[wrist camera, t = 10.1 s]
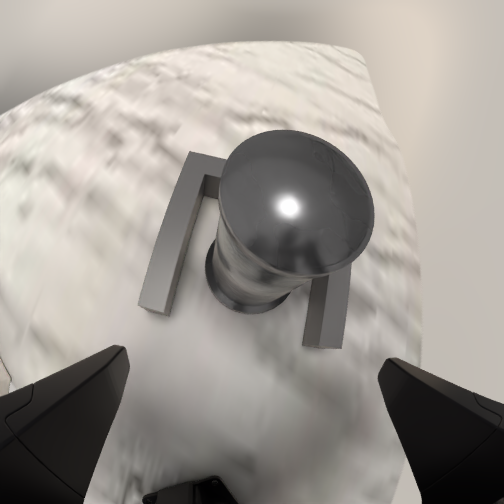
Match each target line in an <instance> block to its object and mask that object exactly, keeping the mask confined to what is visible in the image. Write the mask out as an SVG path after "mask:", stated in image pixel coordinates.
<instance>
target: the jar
mask: <svg viewBox="0 0 504 504" xmlns="http://www.w3.org/2000/svg"><path fill="white" fill-rule="evenodd" d="M10 381H11V378H10V376H9V374H8V373H7V371H6V369H5V367H4V365H3V363H2V361H1V359H0V396H3V395H6V394H8V393H9V386H10Z"/></svg>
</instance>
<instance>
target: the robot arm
mask: <svg viewBox="0 0 504 504" xmlns="http://www.w3.org/2000/svg"><path fill="white" fill-rule="evenodd" d="M129 369H130V364H129V359H128V355H127V351H126V348H125V347H124V346H119V345H113V346H110V347H108V348H106V349H104V350H102V351H100V352H98V353H96V354H94V355H92V356H90V357H88V358H86V359H84V360H82V361H79V362H77V363H75V364H73V365H71V366H69V367H67V368H65V369H63V370H61V371H58V372H56V373H54V374H52V375H50V376H48V377H46V378H43V379H41V380H39V381H37V382H35V383H34V384H33V383H32V384H30V385H27V386H25V387H23V388H21V389H18V390H16V391H13V392H11V393H8V394H6V395H3V396H0V504H83V502H84V498H85V496H86V493H87V490H88V487H89V484H90V481H91V478H92V475H93V472H94V470H95V467H96V464H97V461H98V459H99V456H100V453H101V451H102V448H103V445H104V443H105V440H106V438H107V435H108V433H109V430H110V428H111V425H112V423H113V420H114V418H115V415H116V413H117V410H118V408H119V405H120V402H121V399H122V395H123V392H124V388H125V384H126V381H127V377H128V374H129ZM378 382H379V385H380V389H381V392H382V395H383V398H384V402H385V405H386V408H387V411H388V413H389V416H390V418H391V420H392V423H393V425H394V427H395V430H396V432H397V434H398V437H399V439H400V442H401V444H402V447H403V449H404V452H405V454H406V457H407V459H408V461H409V464H410V467H411V469H412V472H413V475H414V477H415V480H416V483H417V486H418V488H419V491H420V494H421V498H422V504H504V404H502V403H500V402H496V401H494V400H491V399H489V398H486V397H484V396H481V395H479V394H477V393H474V392H473V393H472V392H471V391H469V390H467V389H464V388H462V387H460V386H457V385H455V384H453V383H451V382H448V381H446V380H444V379H442V378H439V377H437V376H435V375H433V374H431V373H429V372H426V371H424V370H422V369H420V368H418V367H416V366H413V365H411V364H409V363H407V362H405V361H403V360H401V359H399V358H388V359H386V360H385V362H384V364H383V366H382V368H381V370H380V372H379V374H378ZM212 481H218V483H212ZM147 500H150V501H152V502H148V501H147ZM142 502H143V504H240V503H239V502H238V501H237V500H236V498H235V497H234V496H233V494H232V493H231V492H230V490H229V489H228V487H227V486H226V485H225V483H224V482H223V481H222V479H221V478H220V477H218V476H211V477H208V478H205V479H202V480H199V481H196V482H193V483H191V482H187V483H183V484H180V485H176V486H173V487H169V488H166V489H162V490H159V492H157V493H153V494H149V495H145V496H144V497H143V499H142Z"/></svg>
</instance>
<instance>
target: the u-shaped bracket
mask: <svg viewBox="0 0 504 504" xmlns="http://www.w3.org/2000/svg"><path fill="white" fill-rule="evenodd" d="M226 161H227V160H226V159H222V158H218V157H213V156H209V155H205V154H200V153H195V152H191V151H189V153H188V156H187V158H186V161H185V163H184V166H183V168H182V171H181V173H180V176H179V178H178V181H177V184H176V186H175V189H174V191H173V194H172V197H171V200H170V202H169V205H168V208H167V211H166V213H165V216H164V219H163V222H162V225H161V228H160V231H159V234H158V237H157V240H156V243H155V246H154V250H153V253H152V256H151V259H150V263H149V266H148V269H147V273H146V276H145V280H144V283H143V287H142V290H141V294H140V298H139V302H138V306H140V307H142V308H144V309H145V310H147V311H151V312H154V313H158V314H161V315H165V316H170V312H171V308H172V304H173V300H174V296H175V292H176V288H177V284H178V280H179V277H180V273H181V269H182V265H183V262H184V258H185V255H186V251H187V248H188V244H189V241H190V237H191V234H192V231H193V227H194V224H195V221H196V217H197V214H198V211H199V208H200V204H201V201H202V198H203V195H205V196H209V197H213V198H217V199H218V197H219V186H220V180H221V175H222V171H223V168H224V165H225V163H226ZM351 265H352V262H351V263H350V264H348V265H347V266H345V267H343V268H342V269H340V270H338V271H336V272H334V273H332V274H329V275H327V276H323V277H319V278H313V280H312V287H311V294H310V300H309V307H308V313H307V319H306V325H305V331H304V337H303V343H302V345H304V346H310V347H317V348H329V349H341V348H342V342H343V335H344V328H345V321H346V313H347V305H348V296H349V287H350V276H351Z"/></svg>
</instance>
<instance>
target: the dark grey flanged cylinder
mask: <svg viewBox="0 0 504 504" xmlns="http://www.w3.org/2000/svg"><path fill="white" fill-rule="evenodd" d="M218 199H219V209H220V218H219V224H218V229H217V235H216V239H215V240H214V242H213V243H212V244H211V246H210V248H209V250H208V253H207V257H206V263H205V274H206V279H207V283H208V285H209V288H210V290H211V291H212V293H213V294H214V296H215V297H216V298H217V299H218V300H219V301H220V302H221V303H222V304H223V305H225V306H226V307H228V308H229V309H231V310H234V311H236V312H239V313H244V314H258V313H263V312H266V311H268V310H271V309H273V308H275V307H276V306H278V305H279V304H281V303H282V302H283V301H284V300H285V299H286V298H287V296H288V295H289V294H290V292H291V291H292V290H294V289H295V288H297V287H299V286H301V285H303V284H304V283H306V282H308V281H310V280H311V279H313V278H319V277H323V276H327V275H329V274H332V273H334V272H336V271H338V270H340V269H342V268H343V267H345V266H347V265H348V264H350V263H351V262H353V261H354V260H355V259H356V258H357V257H358V256H359V255H360V254H361V253H362V252H363V250H364V249H365V247H366V246H367V244H368V242H369V240H370V237H371V235H372V231H373V227H374V205H373V199H372V196H371V193H370V190H369V187H368V185H367V183H366V181H365V179H364V177H363V175H362V174H361V172H360V171H359V170H358V168H357V167H356V166H355V164H354V163H353V162H352V161H351V160H350V159H349V158H348V157H347V156H346V155H345V154H344V153H343V152H341V151H340V150H339V149H338V148H336V147H335V146H333V145H332V144H330V143H329V142H327V141H325V140H323V139H321V138H319V137H316V136H314V135H311V134H308V133H304V132H299V131H294V130H273V131H267V132H263V133H260V134H257V135H255V136H252V137H250V138H249V139H247V140H245V141H244V142H242V143H241V144H240V145H239V146H238V147H236V149H235V150H234V151H233V152H232V153H231V155H230V156H229V158H228V159H227V161H226V163H225V165H224V168H223V171H222V175H221V180H220V186H219V197H218Z"/></svg>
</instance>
